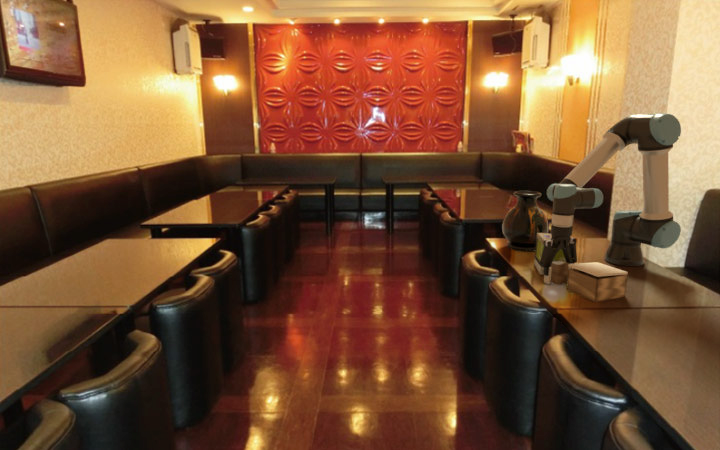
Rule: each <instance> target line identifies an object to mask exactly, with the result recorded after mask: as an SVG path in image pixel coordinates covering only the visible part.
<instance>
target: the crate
mask: <svg viewBox="0 0 720 450" xmlns="http://www.w3.org/2000/svg"><path fill="white" fill-rule="evenodd" d="M627 283H628V274H625V275H613V276H600V277H597V276H594V275H591V274H589V273H586V272H583V271H580V270H578V269H575V268H572V269H568V278H567V284H566V289H565V290H566V291H568V292H571V293H573V294H575V295H578V296H580V297H582V298H584V297H585V299H587V300H589V301H592V302H594V303H598V302H604V301H608V299H610V300H614V299H620V298H625V297H626V293H627V285H628V284H627Z"/></svg>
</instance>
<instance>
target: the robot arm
mask: <svg viewBox="0 0 720 450" xmlns="http://www.w3.org/2000/svg"><path fill="white" fill-rule="evenodd" d="M681 134H682V127H681V123H680V121H679V119H678V118H677V117H676V116H675V115H673V114H671V113H662V112H659V113H658V112H656V113H636V114H631V115H629V116H626V117H624V118H622V119H621V120H619V121H617V122H616V123H615V124H614V125H613V126H612V127H610V128H609V129H608V130H607V131H605V133H604V134H603V136H602V140H600V142H599V143H598V144H597V145H596V146H595V147H593V148H592V150H590V152H588V154H587V155H586V156H584V158H583V159H582V160H581V161H579V163H578V164H577V165H576V166H575V167H574V168H573V169H572V170H571V171H570V172H569V173H568V174H567V175H566V176H565V177H564V178H563V179H562V180H561V181H560V182H559V183H558V182H555V183H551V184H550V185H549V186H547V187H548V188H547V189H546V196H547V199H548V200H550V201H551V202H552V214H551V215H552V216H551V226H550V233H551V235H552V238H551V240H549V241H547V240H545V241H544V249H543V253H542V256H541V260H540V265H541V266H544V273H543V274H544V275H543V277H544V278H543V283H545V284H547V285H551V284H552V283H551V271H552V268H551V267H550V266H551V264H552V262H553V260H554V258H555V255H556V253H557V252H558V251H559V250H560V249H562V250H563V254H564V257H565V260H566V263H568V264H576V263H578V256H577V253H578V252H577V241H578V239H577V238H575V237H572V236H573V225H574V217H575V210H578V209H579V210H580V209H582V210H583V209H594V208H599V207H600V206H601V205H602V204H603V202H604V194H603V192H602V191H601V190H600V189H599V188H594V187H589V188H585V187H584V186H585V185H586V184H587V183H588V182H589V181H590V180H591V179H592V178H593V177H594V176H595V175H596V174H597V173H598V172H599V171H600V170H601V169H602V168H603V166H605V165H606V164H607V162H609V160H610V159H612V158H613V157H614V156H615V154H617V153H618V152H619V151H622V150H623V151H624V149H625V148H626V147H628V146H629V145H633V144H637V151H638V152H639V153H640V154H641V155H642V192H643V193H642V196H643V197H642V198H643V199H642V201H643V210H618V211H616V212H614V215H613V219H612V225H611V226H612V227H611V238H610V244H609V245H608V248H607V250H606V252H605V253H604V261H606V262H607V263H610V264H614V265H617V266H618V265H619V266H627V267H639V266H643V265H644V259H645V258H644V255H643V250H642V245H647V246H650V247H653V248H658V249H667V248H670V247H672V246H673V245H674V244H676V242H677V241H678V239H679V237H680V235H681V233H682V231H681V230H682V229H681V225H680V224H679V222H677V221H674V213H673V212H671V211H670V209H669V207H670V205H669V202H670V201H669V200H670V199H669V197H670V195H669V193H670V192H669V191H670V190H669V187H670V185H669V183H670V182H669V179H670V178H669V177H670V176H669V152H670V151H671V150H672V149H673V148H674V144H675V143H677V142H678V140H679V137H680V136H681ZM554 248H555V249H554ZM547 263H548V264H547ZM568 269H573V268H572V267H569V266H568ZM567 278H568V275H567Z"/></svg>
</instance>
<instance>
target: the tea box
mask: <svg viewBox="0 0 720 450" xmlns="http://www.w3.org/2000/svg"><path fill="white" fill-rule="evenodd" d="M551 238H552V235H551V232H550V233H549V232H548V233H537V237H536V248H535V251H534V263H533V264H534V266H535V268H536V270H537V271H538V274H539V275H542V276H544V274H543V273H544V266H541V265H540V260H541V256H542V253H543V249H544V241H545V240H547V241H549V240H551ZM554 249H555V248H554ZM557 260H560V261H562V262H565V263H566V260H565V257H564V254H563V250H562V249H560V250H559V251H558V252H557V253H556V255H555V258H554V260H553V261H557ZM547 264H548V263H547Z"/></svg>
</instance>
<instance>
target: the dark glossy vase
mask: <svg viewBox="0 0 720 450" xmlns="http://www.w3.org/2000/svg"><path fill="white" fill-rule="evenodd" d="M512 194H513V195H514V197H516V198H517V202H516V204H515V205H514V206H513V207H511V208H510V209H509V210H508V211H507V212H506V214H505V216H504V218H503V221H502V224H501V229H502V234H503V236H504V237H505V239H506V240H507V243H506V246H507V248H509V249H511V250H513V251H518V252H525V253H526V252H528V253H529V252H535V248H536V237H537V233H549V221H548V218H547V216H546V214H545V212H544V211H543V210H542V209H541V208H540V206H539V204H537V200H538V198H540V197H541V196H542V195H543V194H542V193H541V192H539V191H532V190H518V191H514V192H513V193H512Z"/></svg>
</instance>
